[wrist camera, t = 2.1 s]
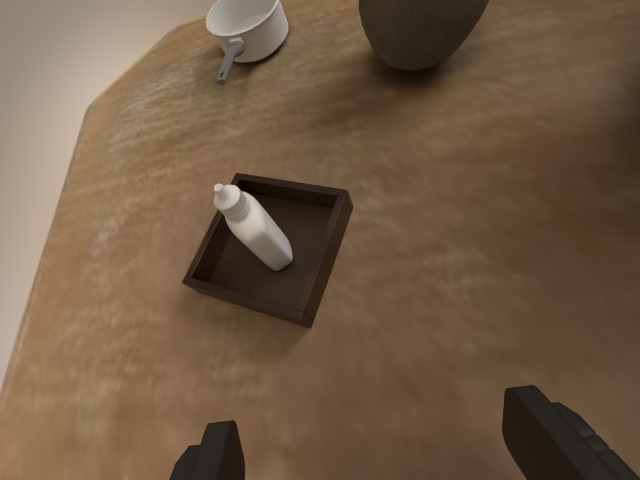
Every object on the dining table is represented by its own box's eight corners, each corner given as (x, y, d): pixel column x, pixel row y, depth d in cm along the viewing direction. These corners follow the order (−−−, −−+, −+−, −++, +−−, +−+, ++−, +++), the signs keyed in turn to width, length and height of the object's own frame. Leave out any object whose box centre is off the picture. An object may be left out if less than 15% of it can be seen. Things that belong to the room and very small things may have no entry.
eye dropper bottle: (294, 222, 39) (246, 154, 29) (293, 270, 37) (240, 214, 26) (257, 228, 40) (198, 163, 30) (254, 275, 38) (187, 222, 27)
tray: (248, 188, 43) (235, 172, 41) (353, 206, 38) (347, 189, 35) (199, 292, 39) (181, 282, 36) (311, 328, 34) (300, 320, 31)
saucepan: (204, 117, 51) (181, 86, 47) (233, 25, 60) (215, -10, 55) (277, 107, 48) (261, 73, 43) (297, 11, 56) (285, -26, 51)
